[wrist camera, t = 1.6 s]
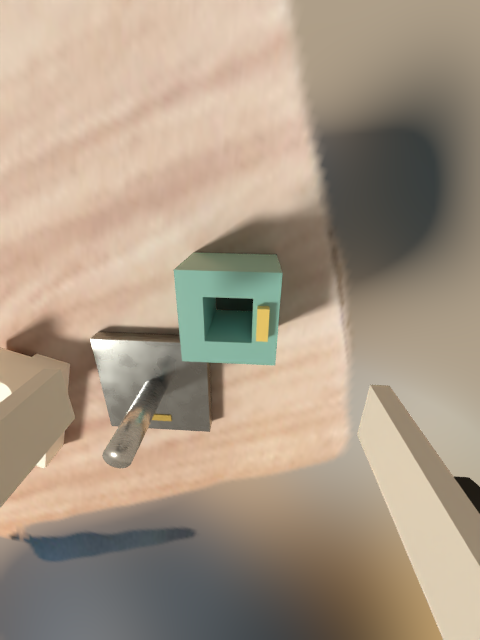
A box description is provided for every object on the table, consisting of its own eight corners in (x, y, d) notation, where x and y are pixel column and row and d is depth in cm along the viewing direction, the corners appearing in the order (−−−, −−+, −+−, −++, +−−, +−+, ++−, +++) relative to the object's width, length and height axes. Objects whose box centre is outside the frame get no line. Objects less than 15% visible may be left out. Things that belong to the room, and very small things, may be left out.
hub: (193, 252, 23) (170, 272, 17) (276, 254, 23) (283, 275, 17) (197, 326, 26) (179, 365, 20) (271, 329, 25) (275, 370, 19)
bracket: (4, 341, 28) (-77, 388, 21) (71, 362, 29) (14, 414, 22) (8, 426, 34) (-56, 486, 27) (65, 442, 34) (16, 504, 27)
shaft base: (98, 331, 27) (22, 396, 18) (208, 336, 26) (184, 404, 18) (118, 415, 31) (65, 499, 23) (212, 421, 31) (194, 508, 22)
